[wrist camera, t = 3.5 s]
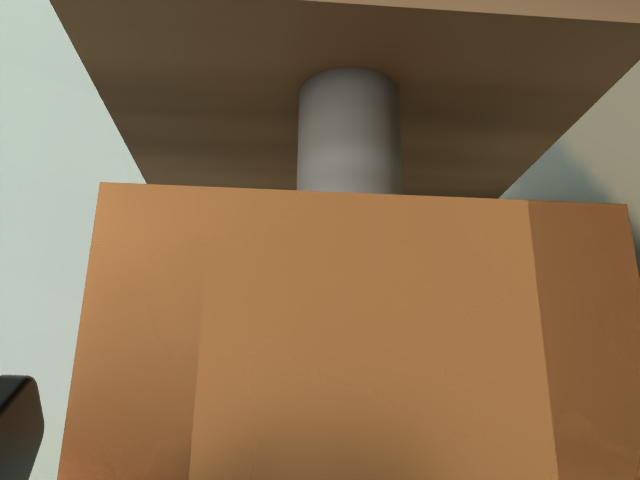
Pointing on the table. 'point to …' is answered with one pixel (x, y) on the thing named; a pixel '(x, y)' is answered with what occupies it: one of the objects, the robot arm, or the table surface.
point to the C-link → (354, 338)
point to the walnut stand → (349, 87)
